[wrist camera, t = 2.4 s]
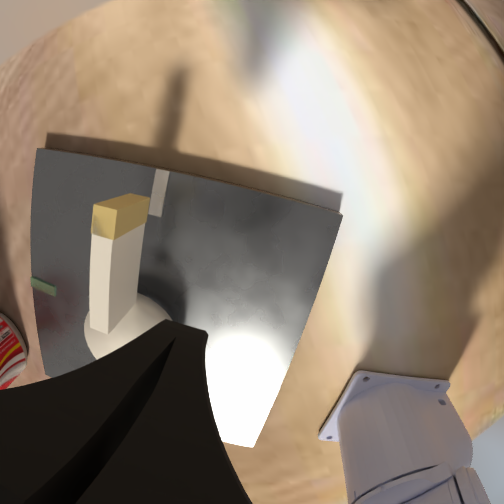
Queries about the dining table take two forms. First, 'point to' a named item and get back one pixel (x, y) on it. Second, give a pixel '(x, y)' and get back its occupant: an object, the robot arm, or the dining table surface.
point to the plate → (185, 271)
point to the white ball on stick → (118, 276)
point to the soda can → (10, 352)
